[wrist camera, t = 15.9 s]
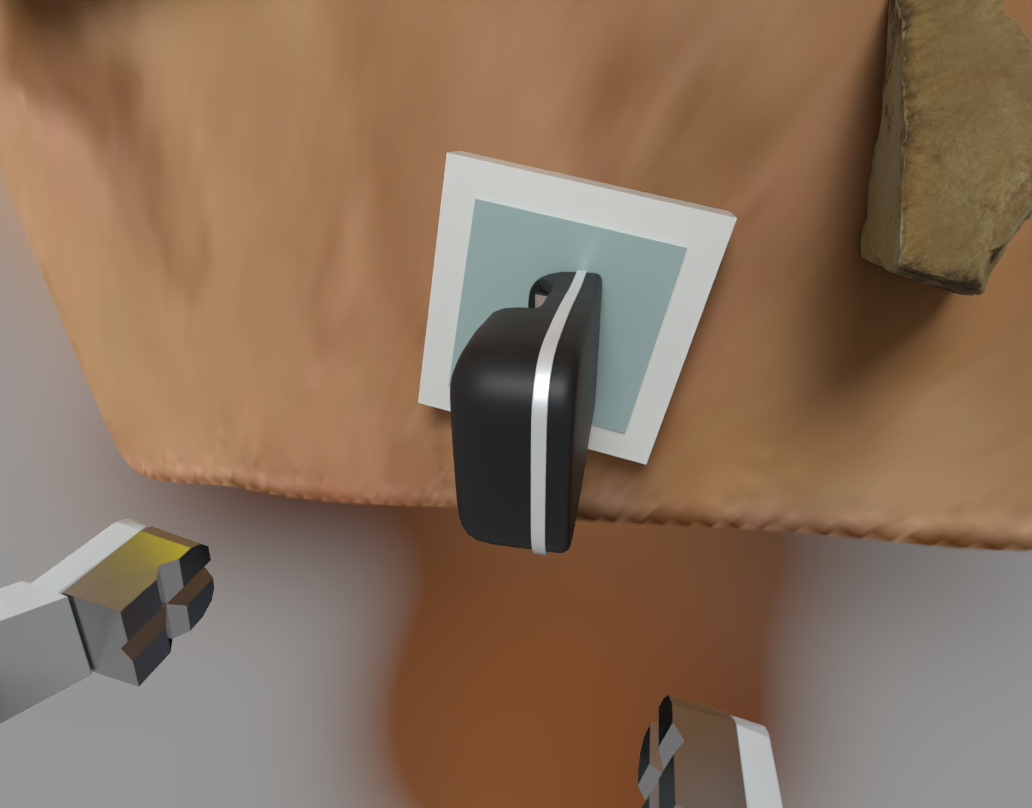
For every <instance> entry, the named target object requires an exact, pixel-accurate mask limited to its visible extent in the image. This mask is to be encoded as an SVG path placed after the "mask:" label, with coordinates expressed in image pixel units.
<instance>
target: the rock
mask: <svg viewBox="0 0 1032 808" xmlns="http://www.w3.org/2000/svg"><path fill="white" fill-rule="evenodd" d="M1003 2H1004V0H890V3H889V14H888V27H887V58H886V69H885V76H884V84H883V91H882V116H881V123H880V130H879V136H878V140H877V142H876V144H875V147H874V152H873V164H872V173H871V177H870V180H869V183H868V189H867V190H868V203H867V219H866V221H865V223H864V225H863V229H862V232H861V241H860V248H861V257H862V258H864V259H866V260H868V261H870V262H872V263H874V264H876V265H879V266H881V267H883V268H885V270H887V271H889V272H891V273H893V274H896V275H900V276H904V277H907V278H910V279H913V280H915V281H918V282H921V283H924V284H928V285H931V286H934V287H936V288H940V289H944V290H947V291H950V292H953V293H956V294H961V295H975V294H977V295H981V294H982V293H984V291H985V288H986V283H987V281H988V278H989V276H990V274H991V272H992V270H993V268H994V267H995V266H996V264H997V263H998V261H999V260H1000V258H1001V256H1002V255H1003V253H1004V252H1005V249H1006V247H1007V244H1008V243H1009V242H1010V240H1011V239H1012V238H1013V236H1014V235H1015V234H1016V232H1017V231H1018V230H1019V229H1020V227H1021V226H1022V224H1023V222H1024V221H1026V220H1027V219H1029V218H1030V216H1031V214H1032V41H1031V40H1030V38H1029V37H1028V36H1027V35H1026V34H1025V33H1024V32H1022V31H1021V29H1020V27H1019V25H1018V23H1017V21H1015V20H1013V19H1012V18H1010V17H1008V16H1007V15H1006V14H1005V13H1004V10H1003Z"/></svg>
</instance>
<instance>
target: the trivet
mask: <svg viewBox="0 0 1032 808" xmlns="http://www.w3.org/2000/svg"><path fill="white" fill-rule="evenodd" d="M736 219H737V218H736V217H735V216H734V215H733V214H732V213H731V212H730V211H726V210H722V209H717V208H713V207H708V206H704V205H699V204H695V203H690V202H686V201H682V200H677V199H673V198H668V197H664V196H659V195H655V194H650V193H646V192H642V191H637V190H633V189H628V188H624V187H619V186H615V185H610V184H606V183H602V182H597V181H593V180H588V179H584V178H579V177H575V176H570V175H566V174H562V173H557V172H553V171H548V170H544V169H539V168H535V167H530V166H526V165H522V164H517V163H513V162H508V161H504V160H499V159H495V158H490V157H486V156H482V155H477V154H473V153H468V152H464V151H456V152H447V156H446V165H445V174H444V182H443V191H442V200H441V208H440V217H439V226H438V234H437V243H436V252H435V260H434V269H433V278H432V286H431V295H430V304H429V312H428V321H427V330H426V338H425V347H424V356H423V364H422V373H421V382H420V390H419V399H418V403H421V404H425V405H429V406H432V407H436V408H440V409H443V410H447V411H451V410H450V383H451V377H452V374H453V371H454V368H455V366H456V363H457V361H458V359H459V357H460V355H461V353H462V351H463V350H464V348H465V346H466V345H467V343H468V342H469V340H470V339H471V337H472V336H473V334H474V333H475V332H476V330H477V329H478V328H479V327H480V326H481V325H482V324H483V323H484V322H485V321H486V320H487V319H488V317H489V316H490V315H491V314H492V313H493V312H495V311H498V310H500V309H503V308H515V307H524V308H528V301H529V292H530V289H531V287H532V286H533V284H534V283H535V282H536V281H537V280H538V279H539V278H541V277H543V276H546V275H548V274H552V273H558V272H577V270H587V272H588V273H597V274H599V275H600V276H601V278H602V299H601V316H600V333H599V350H598V366H597V382H596V398H595V408H594V414H593V419H592V425H591V431H590V437H589V443H588V449H590V450H594V451H598V452H601V453H605V454H609V455H612V456H616V457H620V458H623V459H627V460H631V461H635V462H638V463H642V464H647V461H648V459H649V456H650V453H651V450H652V448H653V445H654V442H655V440H656V437H657V434H658V431H659V429H660V426H661V423H662V420H663V418H664V415H665V412H666V410H667V407H668V404H669V401H670V399H671V396H672V393H673V391H674V388H675V385H676V382H677V380H678V377H679V374H680V372H681V369H682V366H683V363H684V361H685V358H686V355H687V353H688V350H689V347H690V344H691V342H692V339H693V336H694V334H695V331H696V328H697V325H698V323H699V320H700V317H701V315H702V312H703V309H704V306H705V304H706V301H707V298H708V295H709V293H710V290H711V287H712V285H713V282H714V279H715V276H716V274H717V271H718V268H719V266H720V263H721V260H722V257H723V255H724V252H725V249H726V247H727V244H728V241H729V238H730V236H731V233H732V230H733V228H734V225H735V222H736Z"/></svg>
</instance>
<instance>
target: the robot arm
mask: <svg viewBox="0 0 1032 808" xmlns="http://www.w3.org/2000/svg"><path fill="white" fill-rule="evenodd" d="M210 560H211V558H210V553H209V547H208V546H206V545H203V544H200V543H197V542H195V541H192V540H188V539H186V538H183V537H180V536H178V535H175V534H172V533H169V532H166V531H163V530H160V529H158V528H155V527H152V526H149V525H146V524H143V523H140V522H137V521H134V520H131V519H128V518H127V519H123V520H120V521H117V522H115V523H113V524H112V525H110V526H109V527H108V528H106V529H105V530H104V531H102V532H101V533H99V534H98V535H97V536H95V537H94V538H93V539H91V540H90V541H88V542H87V543H86V544H85V545H83V546H82V547H80V548H79V549H78V550H76V551H75V552H73V553H72V554H71V555H69V556H68V557H67V558H65V559H64V560H63V561H61V562H60V563H58V564H57V565H56V566H54V567H53V568H51V569H50V570H49V571H47V572H46V573H45V574H43V575H42V576H41V577H39V578H38V579H36V580H35V581H34V582H32V583H29V582H26V581H21V582H18V583H15V584H12V585H9V586H6V587H3V588H0V723H2V722H4V721H6V720H7V719H9V718H11V717H13V716H15V715H17V714H19V713H21V712H23V711H24V710H26V709H28V708H30V707H32V706H34V705H36V704H38V703H39V702H41V701H43V700H45V699H47V698H49V697H51V696H53V695H54V694H56V693H58V692H60V691H62V690H64V689H66V688H67V687H69V686H71V685H73V684H75V683H77V682H79V681H81V680H83V679H84V678H86V677H88V676H90V675H91V674H92V672H91V671H93V672H96V673H99V674H102V675H105V676H108V677H111V678H114V679H118V680H120V681H124V682H127V683H130V684H133V685H136V686H140V685H141V684H142V683H143V682H144V680H145V679H146V678H147V677H148V676H149V675H150V674H151V673H152V672H153V671H154V670H155V668H157V666H158V665H159V664H160V663H161V662H162V661H163V660H164V659H165V658H166V657H167V656H168V655H169V653H170V652H171V646H172V639H173V638H175V637H177V636H179V635H182V634H184V633H186V632H189V631H191V629H192V628H193V627H194V626H195V625H196V624H197V623H198V621H199V620H200V619H201V618H202V617H203V615H204V613H205V612H206V609H207V608H208V606H209V604H210V602H211V601H212V596H213V591H214V583H213V577H212V576H211V575H210V573H209V572H208V571H207V570H206V568H205V567H204V566H205V565H206V564H207V563H208V562H209V561H210ZM638 787H639V789H640V791H641V793H642V795H643V797H644V799H645V801H646V802H645V803H644V805H643V807H642V808H783V804H782V799H781V794H780V789H779V784H778V778H777V773H776V768H775V763H774V757H773V753H772V747H771V742H770V737H769V733H768V732H767V730H766V728H765V727H764V726H762V725H760V724H757V723H753V722H751V721H747V720H744V719H741V718H737V717H735V716H731V715H729V714H728V713H725V712H722V711H719V710H715V709H712V708H709V707H706V706H703V705H699V704H696V703H693V702H689V701H686V700H683V699H680V698H676V697H674V696H670V695H667V696H666V697H664V699H663V701H662V702H661V704H660V706H659V720H658V721H656V722H653V723H650V725H649V727H648V729H647V732H646V734H645V736H644V739H643V744H642V747H641V752H640V758H639V767H638Z"/></svg>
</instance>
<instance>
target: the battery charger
mask: <svg viewBox="0 0 1032 808" xmlns="http://www.w3.org/2000/svg"><path fill="white" fill-rule="evenodd" d="M601 299H602V278H601V276H600V275H599V274H597V273H588V272H587V270H577V272H558V273H552V274H548V275H546V276H543V277H541V278H539V279H538V280H537V281H536V282H535V283H534V284H533V286H532V287H531V289H530V292H529V301H528V308H524V307H515V308H503V309H500V310H498V311H495V312H493V313H492V314H491V315H490V316H489V317H488V319H487V320H486V321H485V322H484V323H483V324H482V325H481V326H480V327H479V328H478V329H477V330H476V332H475V333H474V334H473V336H472V337H471V339H470V340H469V342H468V343H467V345H466V346H465V348H464V350H463V351H462V353H461V355H460V357H459V359H458V361H457V363H456V366H455V368H454V371H453V374H452V377H451V383H450V410H451V426H452V442H453V457H454V470H455V482H456V494H457V506H458V512H459V517H460V521H461V524H462V526H463V527H464V529H465V531H466V532H467V534H469V535H470V536H472V537H473V538H475V539H476V540H478V541H482V542H486V543H490V544H494V545H502V546H509V547H518V548H524V549H532V551H533V553H534V554H542V555H547V554H548V553H549V552H555V553H563V552H565V551H567V550H568V549H569V547H570V545H571V541H572V536H573V531H574V526H575V521H576V515H577V509H578V504H579V498H580V492H581V486H582V480H583V474H584V468H585V462H586V456H587V450H588V443H589V437H590V431H591V425H592V419H593V414H594V408H595V398H596V382H597V366H598V350H599V333H600V316H601Z"/></svg>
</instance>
